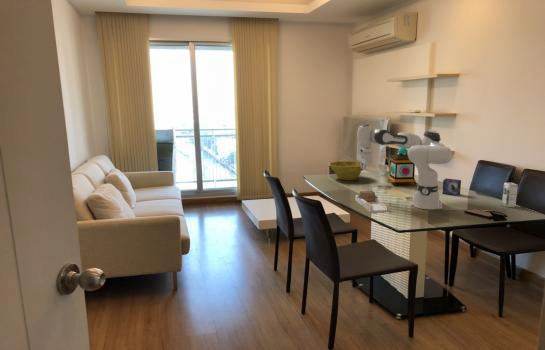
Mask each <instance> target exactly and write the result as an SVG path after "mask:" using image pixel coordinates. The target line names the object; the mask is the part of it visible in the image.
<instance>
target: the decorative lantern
mask: <svg viewBox="0 0 545 350" xmlns="http://www.w3.org/2000/svg"><path fill="white" fill-rule="evenodd" d="M388 159H389V161H390V162H389V169H388V170H389V176H388V177H387V182H388V183H390V182H392V183H393V187H396V184H409V183H413V186H414V187H415V186H416V185H417V181H416V180H415V171H416V166H415V164H414V163H413V162H412V161H410V159H409V158H408V149H407V148H401V147H399V149H398V151H397V152H396V153H395V154H392V155H390V156H389V157H388Z"/></svg>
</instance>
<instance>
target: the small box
mask: <svg viewBox="0 0 545 350" xmlns="http://www.w3.org/2000/svg"><path fill="white" fill-rule="evenodd" d="M461 185H462V179H454V178H453V179H452V178H447V177H446V178H445V179H443V181H442V194H441V195H447V196H454V197H455V196H456V197H458V196H459V195H460V196H461V188H462V187H461Z"/></svg>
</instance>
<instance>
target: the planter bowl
mask: <svg viewBox="0 0 545 350" xmlns="http://www.w3.org/2000/svg"><path fill="white" fill-rule="evenodd" d="M328 165H329V166H330V168H331V170H332V171H334V173H335V176H336V177H337V178H338V179H339V180H344V181H352V180H353V181H354V180H357V179H358V178H359V177H360V175H361V173H362V171H365V170H364V169H362V168H361V164H360V161H358V160H339V161H333V162H329V163H328Z"/></svg>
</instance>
